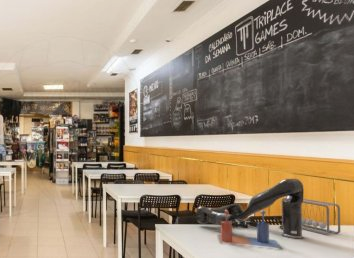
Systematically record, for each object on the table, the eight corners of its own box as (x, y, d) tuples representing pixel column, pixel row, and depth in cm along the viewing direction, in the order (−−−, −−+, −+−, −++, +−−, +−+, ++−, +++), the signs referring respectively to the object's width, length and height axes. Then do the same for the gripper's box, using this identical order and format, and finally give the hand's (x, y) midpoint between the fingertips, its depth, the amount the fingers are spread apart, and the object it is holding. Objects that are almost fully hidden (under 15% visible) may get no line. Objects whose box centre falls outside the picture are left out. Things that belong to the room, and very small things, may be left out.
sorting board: (218, 235, 195) (218, 234, 195) (274, 241, 185) (274, 239, 185) (220, 243, 180) (220, 241, 180) (281, 249, 170) (281, 248, 170)
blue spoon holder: (256, 240, 184) (255, 208, 185) (267, 241, 183) (267, 209, 183) (258, 242, 179) (257, 210, 180) (270, 243, 177) (269, 211, 178)
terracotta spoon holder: (220, 238, 185) (220, 208, 186) (231, 240, 184) (231, 208, 184) (221, 241, 180) (221, 209, 181) (232, 242, 178) (232, 210, 179)
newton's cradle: (340, 234, 201) (340, 204, 202) (328, 235, 198) (327, 205, 199) (293, 223, 230) (292, 196, 230) (281, 224, 226) (281, 197, 227)
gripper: (233, 225, 204) (260, 231, 189) (218, 227, 197) (244, 234, 183) (233, 212, 204) (259, 217, 190) (217, 214, 197) (244, 220, 183)
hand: (252, 225), depth 186 cm, fingers open, 8 cm apart
